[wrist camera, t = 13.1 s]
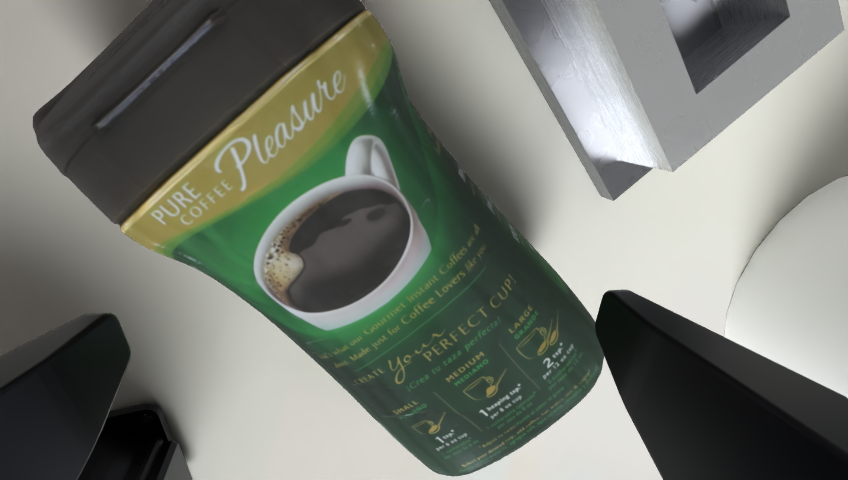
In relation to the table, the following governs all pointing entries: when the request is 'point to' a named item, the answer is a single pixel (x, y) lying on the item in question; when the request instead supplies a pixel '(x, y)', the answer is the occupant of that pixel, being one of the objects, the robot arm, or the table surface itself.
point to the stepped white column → (800, 291)
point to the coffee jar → (328, 216)
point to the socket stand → (659, 71)
